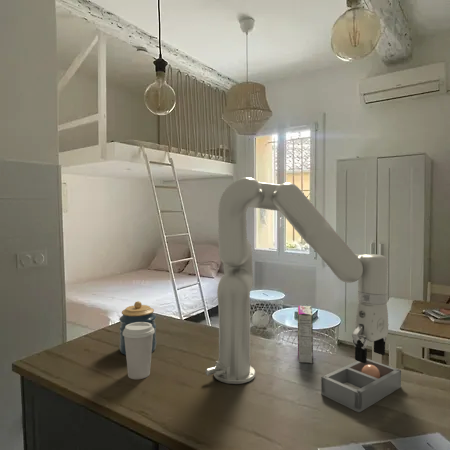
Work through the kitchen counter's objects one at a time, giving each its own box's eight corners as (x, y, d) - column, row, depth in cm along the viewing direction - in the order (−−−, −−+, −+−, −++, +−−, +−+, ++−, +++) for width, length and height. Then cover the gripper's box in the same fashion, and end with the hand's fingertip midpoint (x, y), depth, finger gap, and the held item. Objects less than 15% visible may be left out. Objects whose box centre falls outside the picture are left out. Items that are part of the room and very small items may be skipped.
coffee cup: (161, 371, 109) (160, 323, 109) (141, 384, 100) (141, 332, 100) (136, 365, 113) (136, 319, 113) (115, 378, 104) (115, 328, 104)
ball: (375, 389, 96) (373, 373, 95) (358, 382, 100) (356, 367, 99) (384, 380, 99) (382, 364, 98) (368, 374, 103) (366, 358, 102)
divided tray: (358, 412, 86) (359, 393, 86) (321, 394, 95) (321, 376, 95) (400, 387, 99) (401, 370, 99) (364, 373, 108) (364, 357, 108)
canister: (163, 347, 129) (163, 300, 128) (137, 359, 118) (137, 307, 117) (138, 340, 136) (138, 295, 135) (111, 351, 125) (111, 302, 124)
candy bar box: (297, 350, 126) (297, 305, 126) (311, 351, 125) (311, 305, 125) (297, 362, 115) (297, 313, 115) (313, 364, 114) (313, 314, 114)
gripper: (367, 305, 91) (365, 370, 91) (400, 296, 102) (398, 354, 102) (342, 299, 97) (340, 360, 97) (375, 291, 107) (373, 346, 108)
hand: (370, 357), depth 100 cm, fingers open, 9 cm apart
